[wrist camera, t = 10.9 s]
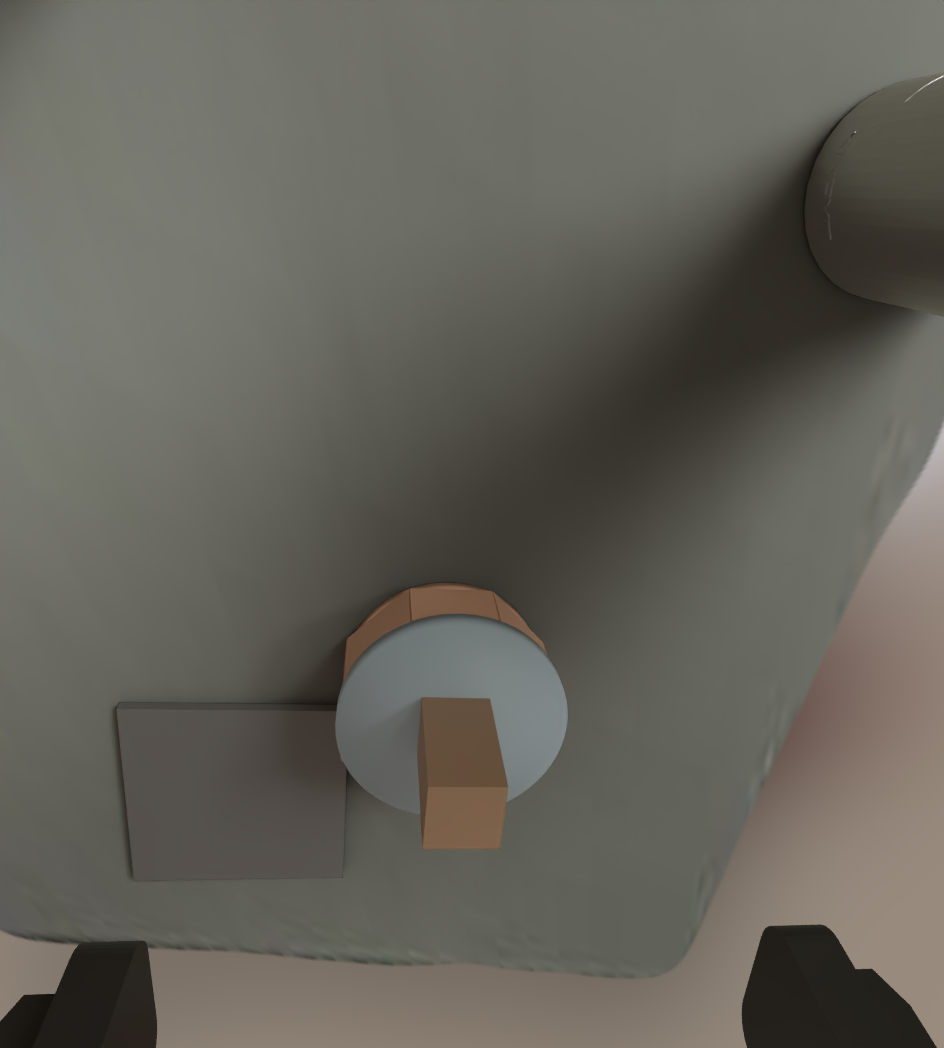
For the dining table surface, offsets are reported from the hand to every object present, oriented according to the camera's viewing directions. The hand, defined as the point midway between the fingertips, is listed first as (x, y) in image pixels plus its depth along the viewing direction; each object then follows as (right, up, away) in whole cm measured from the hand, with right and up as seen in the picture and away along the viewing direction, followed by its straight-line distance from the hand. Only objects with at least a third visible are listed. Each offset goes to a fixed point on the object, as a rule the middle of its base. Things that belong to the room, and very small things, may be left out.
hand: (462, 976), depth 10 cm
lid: (-1, -3, +28) cm, 28 cm away
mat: (-13, -9, +35) cm, 38 cm away
